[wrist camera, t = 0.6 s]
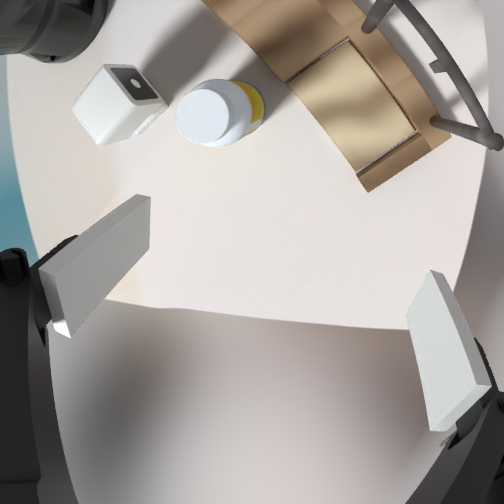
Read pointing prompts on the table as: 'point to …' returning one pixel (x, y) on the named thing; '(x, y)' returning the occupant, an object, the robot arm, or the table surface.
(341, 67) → the shelf board
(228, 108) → the pill bottle
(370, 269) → the table surface
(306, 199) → the table surface
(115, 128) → the security camera
